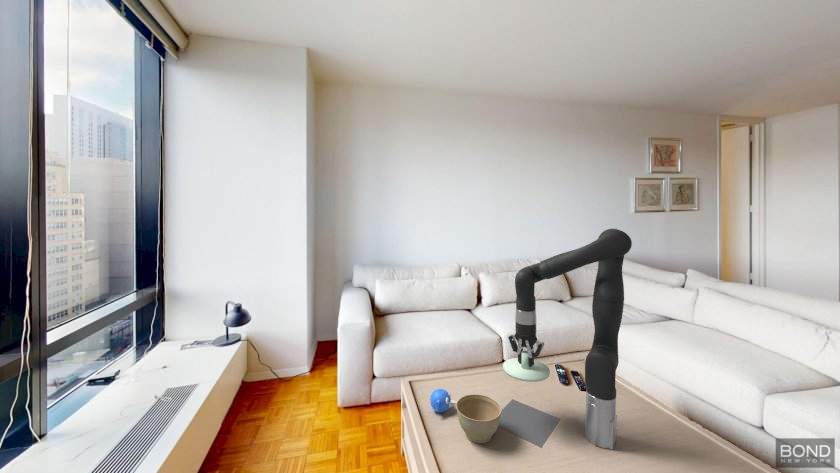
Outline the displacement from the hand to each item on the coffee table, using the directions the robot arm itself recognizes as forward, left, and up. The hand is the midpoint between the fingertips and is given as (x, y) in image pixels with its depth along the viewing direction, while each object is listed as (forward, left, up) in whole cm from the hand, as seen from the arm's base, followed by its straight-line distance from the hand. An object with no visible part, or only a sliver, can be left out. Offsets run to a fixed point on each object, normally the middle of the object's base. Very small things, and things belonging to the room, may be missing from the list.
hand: (525, 364), depth 121 cm
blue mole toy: (+28, +15, -23) cm, 39 cm away
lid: (0, 0, -2) cm, 2 cm away
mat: (0, 0, -23) cm, 23 cm away
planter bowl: (+10, +18, -23) cm, 31 cm away
